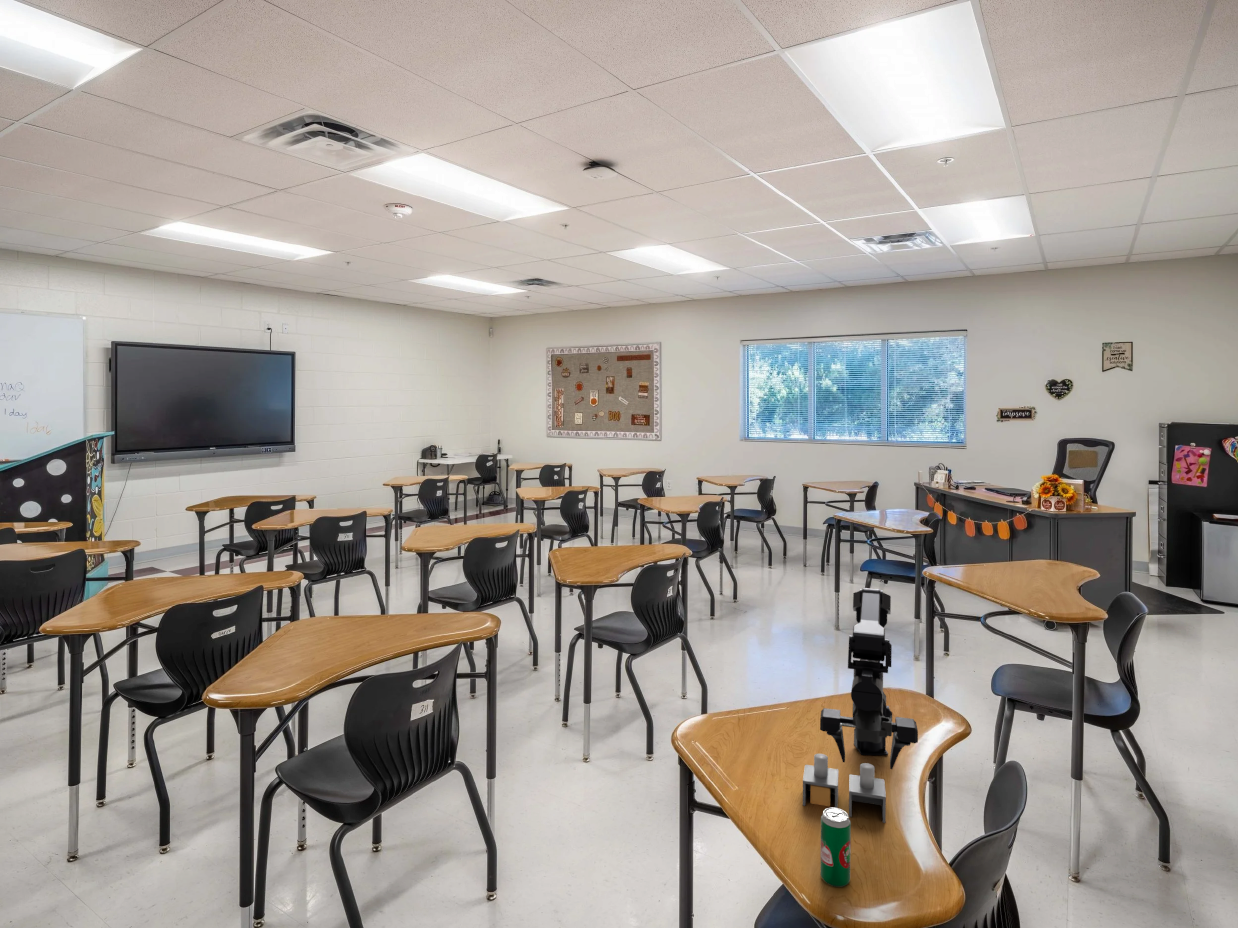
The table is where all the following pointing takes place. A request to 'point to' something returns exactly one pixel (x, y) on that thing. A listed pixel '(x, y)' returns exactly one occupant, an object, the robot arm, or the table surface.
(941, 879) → the table surface
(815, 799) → the letter cube
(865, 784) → the hood
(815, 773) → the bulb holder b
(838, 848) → the soda can
